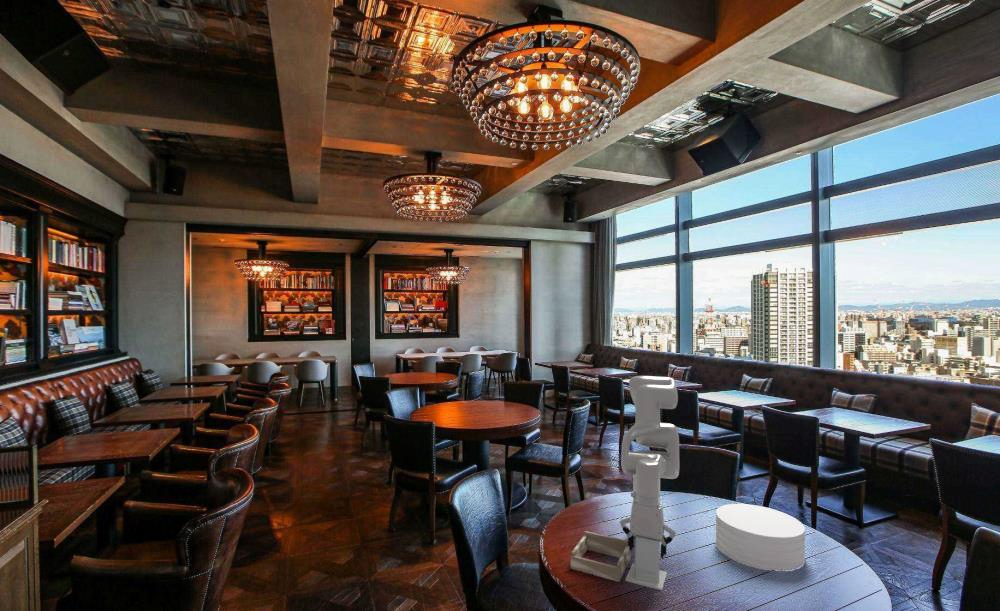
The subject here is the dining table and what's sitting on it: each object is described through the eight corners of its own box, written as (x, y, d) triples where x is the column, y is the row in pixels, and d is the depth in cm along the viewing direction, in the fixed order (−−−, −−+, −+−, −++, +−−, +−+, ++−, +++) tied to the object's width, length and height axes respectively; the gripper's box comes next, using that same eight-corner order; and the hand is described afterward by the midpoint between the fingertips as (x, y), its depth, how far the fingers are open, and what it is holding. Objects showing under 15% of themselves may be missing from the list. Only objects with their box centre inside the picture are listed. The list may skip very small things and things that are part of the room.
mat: (632, 564, 160) (632, 563, 160) (667, 573, 155) (667, 571, 155) (625, 580, 150) (625, 579, 150) (661, 590, 145) (661, 589, 145)
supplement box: (659, 583, 149) (660, 542, 149) (634, 579, 151) (635, 538, 151) (658, 571, 156) (658, 532, 156) (634, 567, 158) (635, 528, 158)
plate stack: (719, 527, 191) (719, 498, 191) (802, 545, 177) (803, 514, 177) (711, 557, 166) (711, 524, 167) (807, 581, 152) (807, 545, 153)
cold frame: (585, 547, 171) (585, 530, 171) (630, 559, 164) (630, 541, 164) (570, 568, 157) (570, 550, 157) (619, 581, 150) (619, 562, 150)
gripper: (617, 498, 154) (617, 551, 154) (674, 509, 146) (673, 565, 146) (623, 490, 161) (622, 540, 161) (677, 500, 153) (676, 553, 153)
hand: (646, 552), depth 153 cm, fingers open, 9 cm apart
